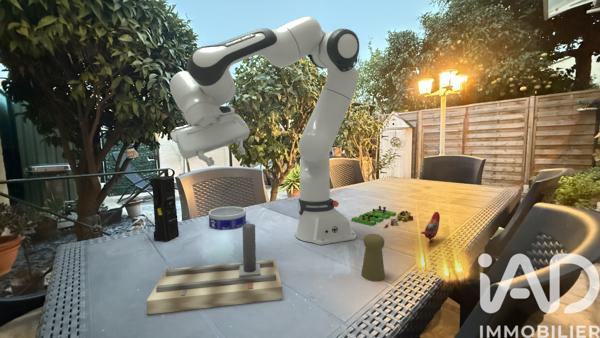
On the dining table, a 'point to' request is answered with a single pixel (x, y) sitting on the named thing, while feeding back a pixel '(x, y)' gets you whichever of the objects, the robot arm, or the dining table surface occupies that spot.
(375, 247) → the olive green pawn
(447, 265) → the dining table surface
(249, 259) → the fader knob
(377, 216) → the toy garden set
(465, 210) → the dining table surface
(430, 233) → the decorative bird figurine
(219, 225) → the dog bowl
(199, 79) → the robot arm
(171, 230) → the portable radio
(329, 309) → the dining table surface
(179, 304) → the fader board
